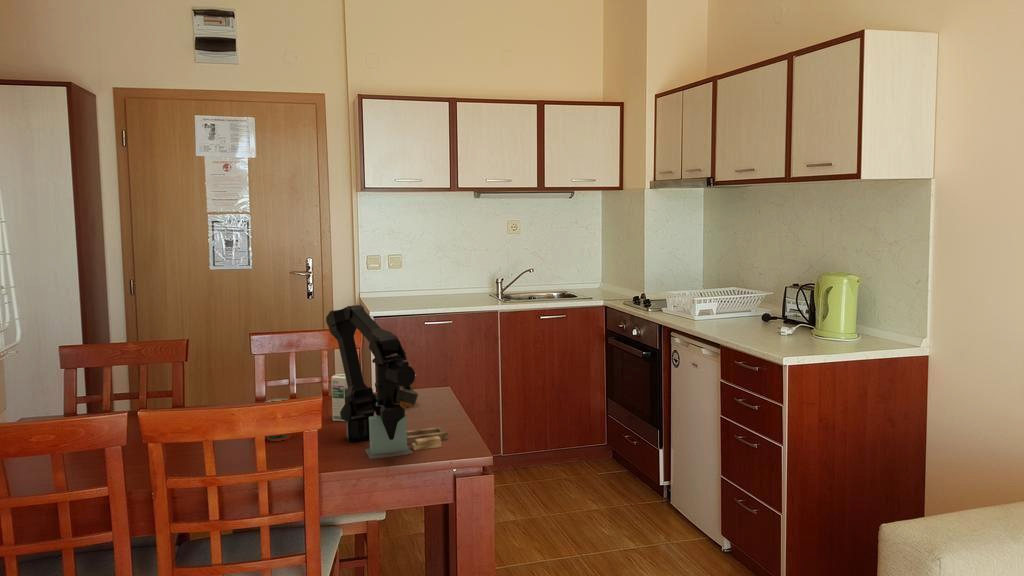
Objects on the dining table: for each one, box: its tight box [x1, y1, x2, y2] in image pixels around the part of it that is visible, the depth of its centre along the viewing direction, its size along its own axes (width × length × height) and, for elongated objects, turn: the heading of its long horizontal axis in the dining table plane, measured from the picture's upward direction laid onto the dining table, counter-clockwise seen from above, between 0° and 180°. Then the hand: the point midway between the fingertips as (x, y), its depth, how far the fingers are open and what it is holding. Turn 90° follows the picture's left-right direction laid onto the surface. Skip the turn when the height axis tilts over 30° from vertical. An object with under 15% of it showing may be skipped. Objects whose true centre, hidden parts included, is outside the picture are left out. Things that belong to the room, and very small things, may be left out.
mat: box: [364, 444, 414, 460], centre depth 217 cm, size 12×8×1 cm, turn 110°
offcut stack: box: [411, 436, 442, 451], centre depth 221 cm, size 8×3×2 cm, turn 110°
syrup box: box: [330, 373, 348, 422], centre depth 249 cm, size 6×6×14 cm
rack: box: [407, 426, 449, 445], centre depth 228 cm, size 15×7×2 cm, turn 110°
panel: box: [369, 414, 408, 455], centre depth 216 cm, size 10×3×10 cm, turn 110°
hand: (388, 434), depth 216 cm, fingers open, 9 cm apart
